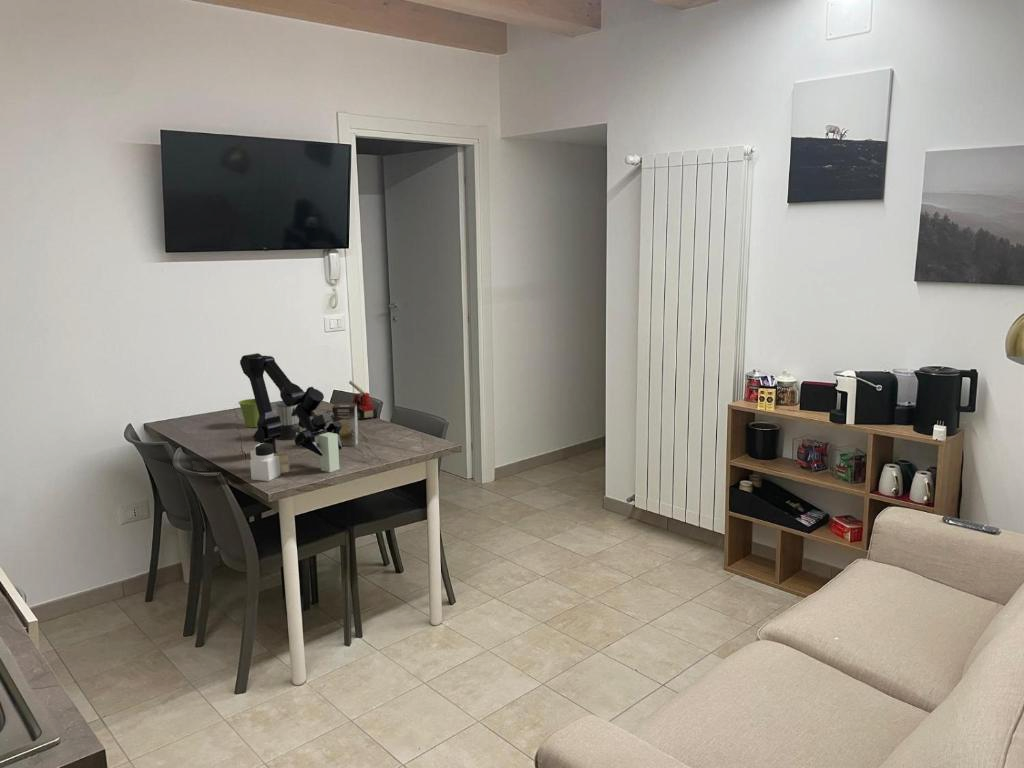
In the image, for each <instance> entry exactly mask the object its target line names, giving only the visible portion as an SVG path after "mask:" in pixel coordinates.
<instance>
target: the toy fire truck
mask: <svg viewBox="0 0 1024 768" xmlns="http://www.w3.org/2000/svg"><path fill="white" fill-rule="evenodd" d="M348 384H350V386H352V387H353V388H354V389H355V390H356V391H357V392H358V393H354V396H353V400H352V404H357V420H358V421H361V420H364V419H369V418H372V419H376V418H377V417H378V411H377V408H375V406H374V405H373V404H372V401H371V395H370V393H369V392H365V391H364V389H363V388H360V387H359V386H358V385H357V384H356V383H355V382H354V381H353V380H350V381H349V382H348Z"/></svg>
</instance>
